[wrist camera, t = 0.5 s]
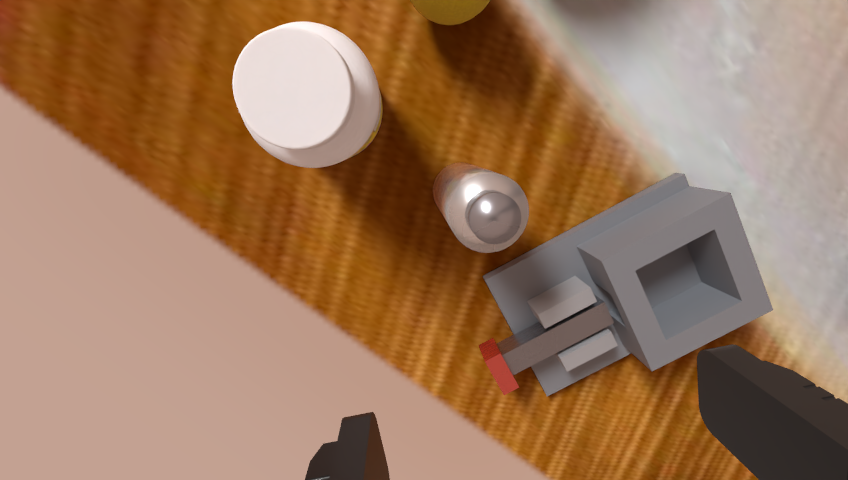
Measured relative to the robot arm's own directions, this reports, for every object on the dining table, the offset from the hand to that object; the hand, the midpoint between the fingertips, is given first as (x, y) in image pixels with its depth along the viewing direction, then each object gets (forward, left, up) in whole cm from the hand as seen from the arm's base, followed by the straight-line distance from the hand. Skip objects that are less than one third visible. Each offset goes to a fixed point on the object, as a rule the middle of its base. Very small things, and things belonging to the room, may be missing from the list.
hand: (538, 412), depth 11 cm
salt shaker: (-2, -2, -22) cm, 22 cm away
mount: (-9, +10, -22) cm, 26 cm away
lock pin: (-3, +10, -20) cm, 23 cm away
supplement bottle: (+3, -11, -22) cm, 25 cm away
